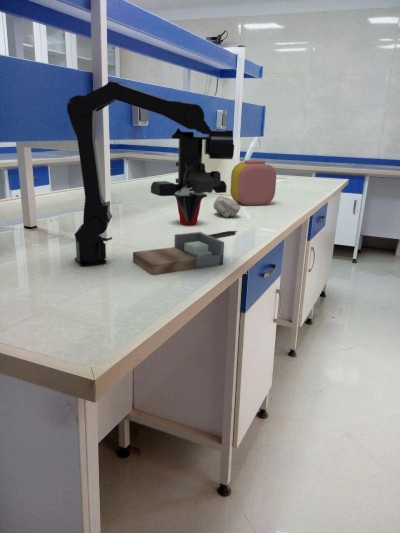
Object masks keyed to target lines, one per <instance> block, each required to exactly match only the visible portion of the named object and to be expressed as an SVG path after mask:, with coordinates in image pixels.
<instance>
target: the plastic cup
mask: <svg viewBox="0 0 400 533" xmlns="http://www.w3.org/2000/svg"><path fill="white" fill-rule="evenodd" d="M175 199H176V204H177V209H178V210H177V211H178V215H179V222H180V225H183V226H195V225H197V223H198V219H199V218H198V217H199V214H200V208H201V203H202V199H203V198H202V199H201V200H200V202H199V203H198V205H197V208H196V210H195V213H194V215H193V218H192V220H191V222H187V221H186V219H185V216H184V214H183V211H182V209H181V206H180V204H179V202H178V200H177V198H176V197H175Z"/></svg>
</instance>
